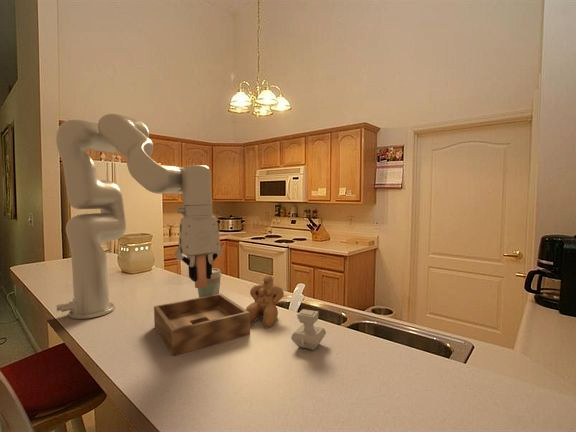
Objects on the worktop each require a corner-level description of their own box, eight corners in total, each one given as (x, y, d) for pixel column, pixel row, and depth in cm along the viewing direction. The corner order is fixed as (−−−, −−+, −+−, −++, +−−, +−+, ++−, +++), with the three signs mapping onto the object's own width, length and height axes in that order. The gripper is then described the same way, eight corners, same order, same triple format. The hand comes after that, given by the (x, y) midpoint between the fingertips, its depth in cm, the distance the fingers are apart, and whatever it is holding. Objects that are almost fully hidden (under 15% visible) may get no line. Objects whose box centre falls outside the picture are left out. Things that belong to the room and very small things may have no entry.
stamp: (315, 357, 73) (314, 321, 73) (289, 351, 76) (288, 316, 76) (327, 340, 81) (327, 308, 81) (303, 335, 84) (303, 304, 84)
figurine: (239, 325, 92) (243, 272, 95) (253, 323, 100) (256, 275, 104) (273, 328, 88) (276, 273, 92) (285, 326, 96) (287, 276, 100)
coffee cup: (215, 310, 103) (214, 274, 102) (191, 309, 105) (190, 273, 104) (226, 302, 111) (225, 268, 111) (203, 300, 113) (202, 267, 112)
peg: (197, 288, 85) (195, 251, 84) (193, 286, 88) (191, 250, 87) (208, 286, 87) (207, 250, 86) (204, 284, 89) (203, 248, 89)
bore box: (173, 355, 74) (172, 330, 74) (154, 326, 91) (153, 306, 90) (250, 334, 85) (249, 312, 85) (221, 312, 102) (220, 293, 102)
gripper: (169, 213, 78) (173, 287, 79) (232, 210, 87) (234, 277, 88) (162, 213, 84) (166, 281, 86) (221, 210, 94) (223, 272, 95)
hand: (200, 278), depth 87 cm, fingers closed on peg, 3 cm apart
